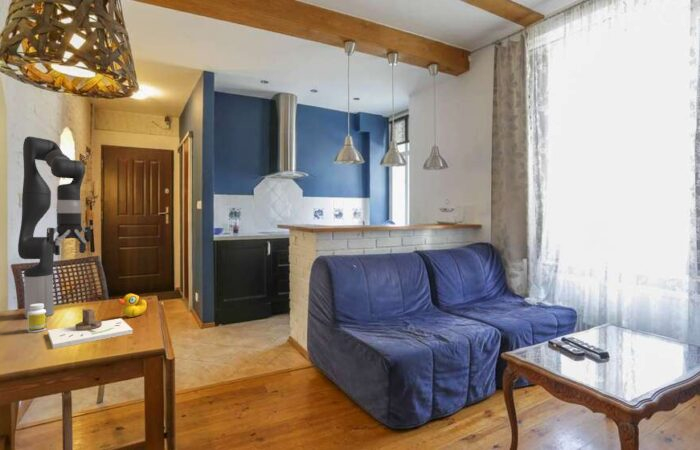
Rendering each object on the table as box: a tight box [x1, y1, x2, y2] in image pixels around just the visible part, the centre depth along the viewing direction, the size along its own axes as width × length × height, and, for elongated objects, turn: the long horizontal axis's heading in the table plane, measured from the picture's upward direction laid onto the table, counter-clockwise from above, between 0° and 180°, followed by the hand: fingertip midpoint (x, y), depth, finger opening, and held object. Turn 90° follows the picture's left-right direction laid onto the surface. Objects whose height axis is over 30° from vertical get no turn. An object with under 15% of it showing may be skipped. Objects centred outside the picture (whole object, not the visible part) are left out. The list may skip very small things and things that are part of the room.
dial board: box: [47, 317, 134, 350], centre depth 135 cm, size 18×23×2 cm
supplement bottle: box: [27, 303, 47, 333], centre depth 138 cm, size 5×5×10 cm
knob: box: [74, 308, 103, 330], centre depth 137 cm, size 12×8×6 cm, turn 57°
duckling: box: [117, 293, 147, 318], centre depth 157 cm, size 11×5×10 cm, turn 148°
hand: (69, 253), depth 143 cm, fingers open, 8 cm apart
